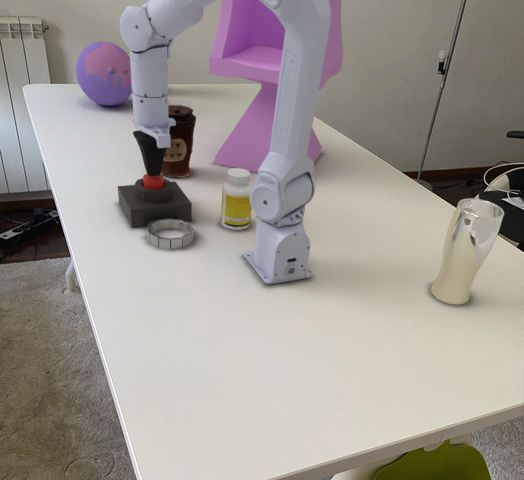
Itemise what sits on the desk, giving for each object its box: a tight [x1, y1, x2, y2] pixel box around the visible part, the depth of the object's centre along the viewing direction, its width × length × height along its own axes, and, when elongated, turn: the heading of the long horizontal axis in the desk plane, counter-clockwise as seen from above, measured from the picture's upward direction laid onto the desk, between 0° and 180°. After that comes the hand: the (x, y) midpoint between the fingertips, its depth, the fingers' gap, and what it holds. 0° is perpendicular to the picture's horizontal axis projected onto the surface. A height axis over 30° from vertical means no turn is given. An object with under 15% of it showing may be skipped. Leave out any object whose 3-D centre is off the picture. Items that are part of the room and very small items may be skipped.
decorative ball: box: [75, 40, 132, 107], centre depth 143 cm, size 15×15×15 cm
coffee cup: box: [161, 104, 197, 178], centre depth 113 cm, size 9×8×13 cm
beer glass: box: [430, 197, 505, 306], centre depth 84 cm, size 7×7×15 cm
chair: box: [208, 0, 344, 174], centre depth 114 cm, size 22×22×45 cm
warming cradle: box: [145, 217, 195, 250], centre depth 95 cm, size 9×8×2 cm
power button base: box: [117, 177, 193, 229], centre depth 100 cm, size 10×11×6 cm
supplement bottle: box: [220, 167, 253, 231], centre depth 98 cm, size 5×5×10 cm
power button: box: [142, 173, 165, 189], centre depth 98 cm, size 4×4×2 cm
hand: (153, 174), depth 97 cm, fingers closed
